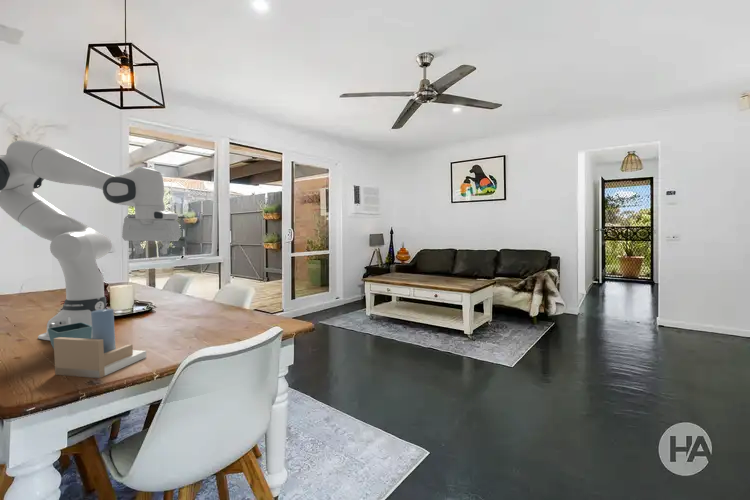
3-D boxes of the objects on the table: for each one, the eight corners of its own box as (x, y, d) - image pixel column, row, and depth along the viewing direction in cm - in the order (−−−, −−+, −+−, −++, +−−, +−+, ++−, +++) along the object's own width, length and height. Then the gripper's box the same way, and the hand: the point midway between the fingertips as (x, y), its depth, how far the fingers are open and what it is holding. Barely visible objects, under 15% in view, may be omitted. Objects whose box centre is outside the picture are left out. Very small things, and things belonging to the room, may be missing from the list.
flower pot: (59, 361, 108) (57, 332, 108) (48, 356, 113) (47, 328, 112) (94, 353, 115) (92, 325, 115) (82, 348, 120) (81, 322, 120)
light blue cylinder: (89, 360, 104) (86, 312, 103) (105, 354, 109) (102, 308, 108) (105, 361, 103) (102, 313, 102) (120, 355, 108) (117, 308, 107)
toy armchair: (55, 374, 99) (53, 338, 98) (107, 354, 114) (106, 323, 114) (99, 378, 96) (98, 341, 96) (146, 357, 112) (145, 325, 112)
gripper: (116, 214, 124) (118, 254, 125) (169, 214, 121) (170, 254, 122) (131, 215, 131) (132, 253, 131) (182, 214, 127) (183, 253, 128)
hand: (151, 254), depth 127 cm, fingers open, 8 cm apart
